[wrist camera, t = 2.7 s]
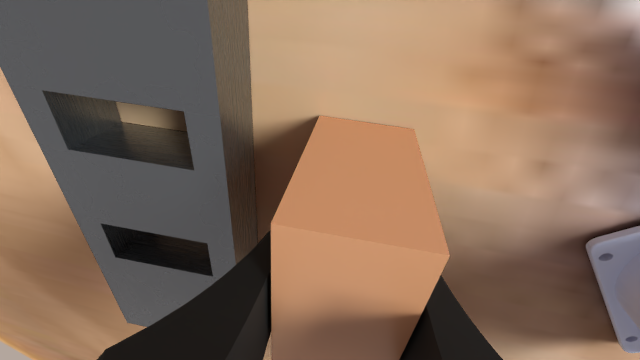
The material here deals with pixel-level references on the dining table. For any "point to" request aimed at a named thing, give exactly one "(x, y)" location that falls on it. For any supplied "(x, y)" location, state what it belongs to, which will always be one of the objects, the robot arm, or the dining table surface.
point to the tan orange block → (354, 245)
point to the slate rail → (143, 135)
